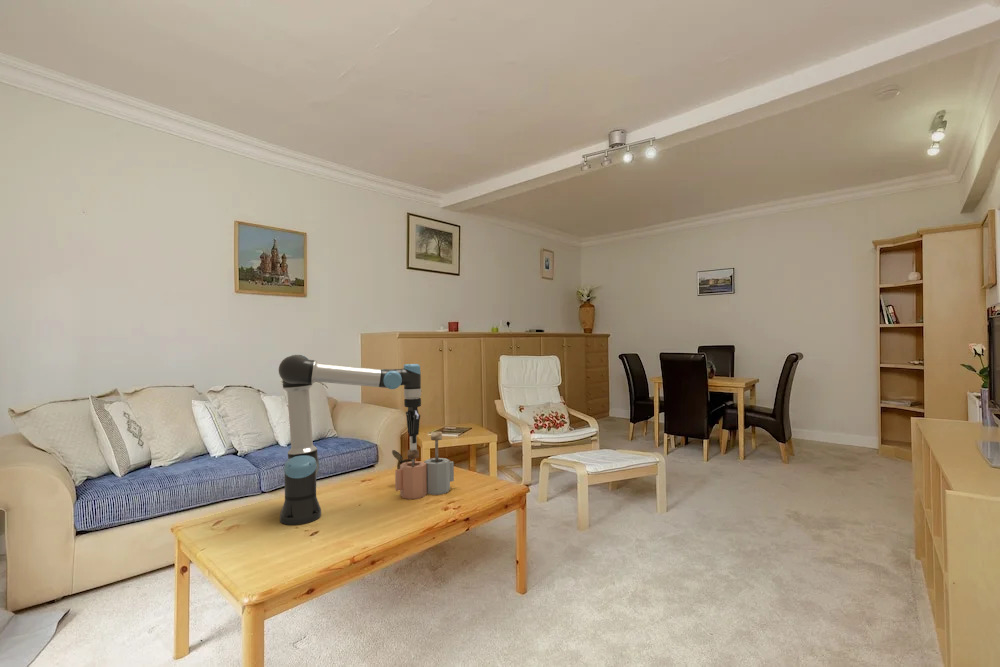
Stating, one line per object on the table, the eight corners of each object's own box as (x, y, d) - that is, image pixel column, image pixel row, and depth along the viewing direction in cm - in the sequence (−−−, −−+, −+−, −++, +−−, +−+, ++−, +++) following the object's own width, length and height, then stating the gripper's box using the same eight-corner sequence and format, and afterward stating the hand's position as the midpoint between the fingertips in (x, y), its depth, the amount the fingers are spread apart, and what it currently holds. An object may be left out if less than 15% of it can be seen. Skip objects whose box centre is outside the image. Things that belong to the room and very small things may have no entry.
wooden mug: (387, 485, 231) (387, 448, 231) (408, 479, 242) (408, 443, 242) (399, 489, 226) (398, 451, 226) (420, 482, 236) (420, 446, 236)
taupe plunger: (410, 488, 213) (409, 452, 213) (406, 485, 217) (406, 450, 217) (420, 486, 215) (420, 450, 216) (416, 484, 220) (416, 448, 220)
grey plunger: (433, 469, 219) (433, 433, 219) (429, 466, 223) (429, 432, 223) (444, 467, 221) (443, 432, 222) (439, 465, 226) (439, 431, 226)
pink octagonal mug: (399, 501, 207) (399, 469, 208) (392, 495, 217) (391, 464, 217) (429, 496, 214) (429, 465, 214) (420, 490, 224) (420, 460, 224)
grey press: (430, 496, 214) (430, 465, 215) (421, 489, 224) (421, 460, 224) (458, 491, 221) (457, 460, 221) (448, 485, 231) (448, 456, 231)
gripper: (425, 398, 213) (426, 451, 213) (415, 396, 225) (416, 446, 224) (409, 399, 209) (410, 453, 209) (400, 397, 221) (400, 448, 220)
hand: (413, 449), depth 217 cm, fingers closed
